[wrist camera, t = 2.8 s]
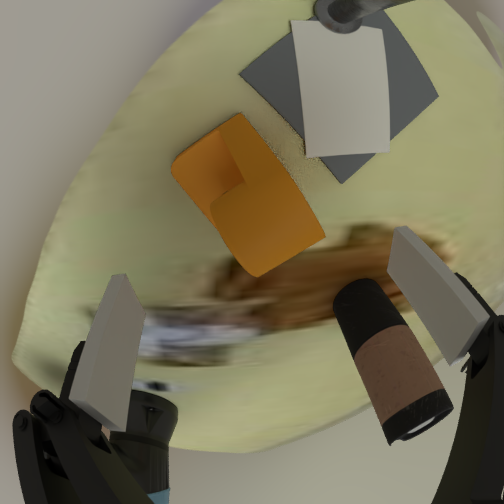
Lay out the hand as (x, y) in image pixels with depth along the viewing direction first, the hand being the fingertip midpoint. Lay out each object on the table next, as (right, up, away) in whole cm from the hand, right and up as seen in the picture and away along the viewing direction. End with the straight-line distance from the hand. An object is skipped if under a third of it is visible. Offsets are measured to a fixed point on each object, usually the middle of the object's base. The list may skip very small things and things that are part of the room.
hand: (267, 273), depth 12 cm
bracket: (-2, +7, +12) cm, 14 cm away
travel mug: (+13, -5, +22) cm, 27 cm away
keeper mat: (+8, +16, +7) cm, 20 cm away
